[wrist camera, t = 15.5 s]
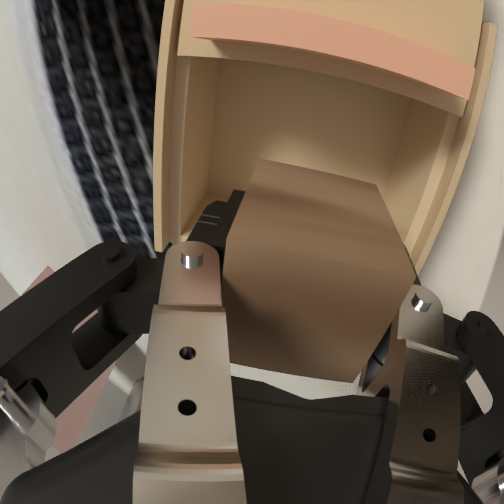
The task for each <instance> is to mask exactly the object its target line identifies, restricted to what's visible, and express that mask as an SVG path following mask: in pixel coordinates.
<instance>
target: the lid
mask: <svg viewBox="0 0 504 504" xmlns="http://www.w3.org/2000/svg"><path fill="white" fill-rule="evenodd" d="M483 8H484V0H184V4H183V11H182V18H181V26H180V34H179V43H178V52H177V56H200V57H215V58H226V59H237V60H246V61H254V62H261V63H269V64H275V65H282V66H288V67H293V68H299V69H304V70H309V71H314V72H319V73H324V74H328V75H333V76H337V77H341V78H345V79H349V80H353V81H357V82H361V83H364V84H368V85H372V86H375V87H378V88H382V89H385V90H388V91H392V92H395V93H398V94H401V95H404V96H407V97H410V98H413V99H416V100H419V101H421V102H424V103H427V104H429V105H432V106H435V107H437V108H440V109H442V110H445V111H447V112H450V113H452V114H455V115H457V116H460V117H463V113H464V110H465V106H466V102H467V100H469V96H470V92H471V88H472V83H473V79H474V74H475V69H476V68H474V66H475V61H476V56H477V50H478V44H479V38H480V31H481V24H482V16H483Z"/></svg>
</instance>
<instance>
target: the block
mask: <svg viewBox="0 0 504 504" xmlns="http://www.w3.org/2000/svg"><path fill="white" fill-rule="evenodd" d="M415 279H416V275H415V272H414V269H413V267H412V264H411V262H410V259H409V257H408V254H407V252H406V249H405V247H404V245H403V242H402V240H401V238H400V235H399V233H398V231H397V228H396V226H395V224H394V222H393V219H392V217H391V215H390V213H389V211H388V208H387V206H386V204H385V202H384V200H383V198H382V196H381V194H380V192H379V190H378V187H377V185H376V184H372V183H369V182H365V181H361V180H357V179H353V178H349V177H345V176H340V175H336V174H332V173H328V172H323V171H319V170H314V169H310V168H305V167H300V166H295V165H290V164H285V163H280V162H275V161H270V160H265V159H259V161H258V163H257V166H256V168H255V171H254V173H253V175H252V178H251V180H250V182H249V185H248V187H247V190H246V192H245V194H244V197H243V199H242V202H241V204H240V206H239V209H238V211H237V214H236V216H235V219H234V221H233V224H232V226H231V228H230V231H229V233H228V236H227V239H226V247H225V257H224V266H223V275H222V285H221V300H222V307H225V311H226V323H227V336H228V349H229V361H230V363H234V364H239V365H243V366H248V367H253V368H258V369H264V370H269V371H275V372H280V373H286V374H292V375H298V376H305V377H311V378H318V379H325V380H332V381H340V382H348V383H353V382H354V380H355V379H356V377H357V376H358V374H359V373H360V371H361V370H362V368H363V367H364V365H365V364H366V362H367V361H368V359H369V358H370V356H371V355H372V353H373V352H374V350H375V348H376V347H377V345H378V344H379V342H380V340H381V339H382V337H383V336H384V334H385V332H386V331H387V329H388V327H389V326H390V324H391V322H392V320H393V318H394V316H395V315H396V313H397V311H398V309H399V308H400V307H401V305H402V303H403V301H404V299H405V298H406V296H407V294H408V292H409V290H410V288H411V286H412V285H413V283H414V281H415Z"/></svg>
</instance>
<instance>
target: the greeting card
mask: <svg viewBox="0 0 504 504" xmlns="http://www.w3.org/2000/svg"><path fill="white" fill-rule="evenodd" d="M53 273H54V271H53V270H52V269H51V268H50V267H49V266H47V267H46V268H45V269H44V271H43V272H42V273H41V274H40V275H39V276H38V277H37V278H36V279H35V281H34V282H33V283H32V284H31V285H30V286H29V287H28V289H27V290H26V291H25V292H24V293H26V292H27V291H29V290H30V289H31V288H33V287H34V286H36V285H37V284H38V283H40V282H41V281H43V280H44V279H46V278H47V277H49V276H50V275H51V274H53ZM24 293H23V294H24ZM23 294H22V295H23ZM96 313H97V310H95V311H94V312H93V313H91V314H90V315H89V316H88V317H86V318H85V319H84V320H83V321H81V322H80V323H79V324H78V325H77V326H76V327H75V328H74V330H73V332H74V331H76V330H77V329H78V328H79V327H80V326H82V325H83V324H84V323H85V322H86V321H88V320H89V319H90V318H91V317H92V316H94V315H95V314H96ZM73 332H72V333H73ZM116 361H117V360H116ZM116 361H115V362H114V363H113V364H112V365H111V366H109V367H108V368H107V369H106V370H105V371H104V372H103V373H102V374H101V375H100V376H99V377H98V378H97V379H96V380H95V381H94V382H93V383H92V384H91V385H90V386H89V387H88V388H87V389H86V390H85V391H84V392H82V393H81V394H80V395H79V396H78V397H77V398H76V399H75V400H74V401H73V402H72V403H71V404H70V405H69V406H68V407H67V408H66V409H65V410H64V411H63V412H62V413H61V414H60V415H59V416H58V417H57V418H56V424H57V430H56V435H55V438H54V442H53V445H52V446H51V447H53V448H55V449H56V450H58V451H59V452H61V453H64V452H66V451H68V450H69V449H71V448H73V447H75V446H76V445H77V443H78V441H79V439H80V436H81V434H82V432H83V430H84V427H85V425H86V423H87V421H88V419H89V417H90V415H91V412H92V410H93V408H94V406H95V404H96V401H97V400H98V398H99V396H100V394H101V392H102V389H103V387H104V385H105V383H106V381H107V379H108V377H109V375H110V373H111V371H112V369H113V367H114V365H115V363H116Z"/></svg>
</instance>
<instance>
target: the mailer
mask: <svg viewBox="0 0 504 504" xmlns="http://www.w3.org/2000/svg"><path fill="white" fill-rule="evenodd" d="M183 4H184V0H165V6H164V14H163V22H162V30H161V39H160V49H159V59H158V71H157V85H156V100H155V121H154V154H153V205H154V240H155V251H159V252H163V250H164V249H165V247H166V246H167V244H168V243H169V242H174V243H180V242H185V241H186V240H187V238H188V236H189V235H190V233H191V231H192V230H193V228H194V226H195V224H196V223H197V222H198V219H199V218H200V216H201V215H202V213H203V211H204V209H205V208H206V206H207V205H209V204H211V203H212V202H214V201H216V200H218V201H224V202H228V200H229V198H230V196H231V194H232V192H233V190H234V189H235V190H241V191H246V190H247V187H248V185H249V182H250V180H251V178H252V175H253V173H254V171H255V168H256V166H257V163H258V161H259V159H265V160H270V161H275V162H280V163H285V164H290V165H295V166H300V167H305V168H310V169H314V170H319V171H323V172H328V173H332V174H336V175H340V176H345V177H349V178H353V179H357V180H361V181H365V182H369V183H372V184H376V185H377V187H378V190H379V192H380V194H381V196H382V198H383V200H384V202H385V204H386V206H387V208H388V211H389V213H390V215H391V217H392V219H393V222H394V224H395V226H396V228H397V231H398V233H399V235H400V238H401V240H402V242H403V244H404V245H405V247H406V248H407V251H408V253H409V256H410V257H409V258H411V261H412V263H413V266H414V268H415V271H416V273H417V276H418V275H419V273H420V271H421V269H422V267H423V265H424V263H425V261H426V259H427V256H428V254H429V252H430V250H431V248H432V246H433V243H434V241H435V239H436V237H437V235H438V232H439V230H440V228H441V225H442V223H443V221H444V218H445V216H446V213H447V211H448V209H449V206H450V204H451V201H452V198H453V196H454V193H455V191H456V188H457V185H458V183H459V180H460V177H461V174H462V171H463V169H464V166H465V163H466V160H467V157H468V154H469V151H470V147H471V144H472V141H473V138H474V134H475V131H476V127H477V124H478V120H479V117H480V113H481V109H482V105H483V101H484V97H485V93H486V89H487V84H488V80H489V75H490V70H491V65H492V59H493V54H494V48H495V41H496V34H497V27H498V26H496V25H495V24H493V23H491V22H484V23H482V24H481V31H480V38H479V44H478V50H477V56H476V61H475V66H474V68H476V69H475V74H474V79H473V83H472V88H471V92H470V96H469V100H467V102H466V106H465V110H464V113H463V117H460V116H457V115H455V114H452V113H450V112H447V111H445V110H442V109H440V108H437V107H435V106H432V105H429V104H427V103H424V102H421V101H419V100H416V99H413V98H410V97H407V96H404V95H401V94H398V93H395V92H392V91H388V90H385V89H382V88H378V87H375V86H372V85H368V84H364V83H361V82H357V81H353V80H349V79H345V78H341V77H337V76H333V75H328V74H324V73H319V72H314V71H309V70H304V69H299V68H293V67H288V66H282V65H275V64H269V63H261V62H254V61H246V60H237V59H226V58H215V57H200V56H177V52H178V43H179V34H180V26H181V18H182V11H183Z"/></svg>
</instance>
